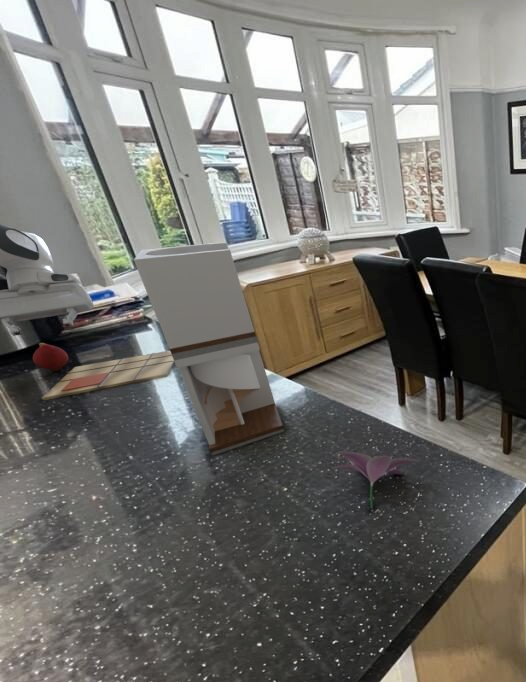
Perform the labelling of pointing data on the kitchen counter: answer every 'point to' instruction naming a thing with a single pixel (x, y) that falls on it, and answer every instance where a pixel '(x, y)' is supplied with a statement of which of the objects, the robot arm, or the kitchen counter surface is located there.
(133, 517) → the kitchen counter surface
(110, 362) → the grid board
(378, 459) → the lily
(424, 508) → the kitchen counter surface
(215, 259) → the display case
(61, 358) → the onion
